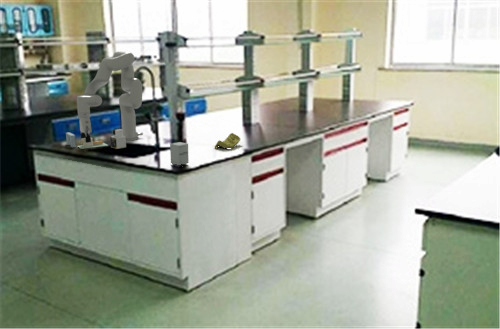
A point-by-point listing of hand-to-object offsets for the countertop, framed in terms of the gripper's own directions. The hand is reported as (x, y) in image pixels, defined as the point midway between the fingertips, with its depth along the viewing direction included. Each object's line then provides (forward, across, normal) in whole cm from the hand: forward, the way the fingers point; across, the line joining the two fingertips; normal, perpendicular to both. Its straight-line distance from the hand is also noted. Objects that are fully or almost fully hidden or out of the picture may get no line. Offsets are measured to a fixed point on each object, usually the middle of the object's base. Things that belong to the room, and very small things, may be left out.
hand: (86, 141), depth 352 cm
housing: (+4, +9, +7) cm, 12 cm away
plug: (+3, 0, -4) cm, 5 cm away
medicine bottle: (+4, -13, -17) cm, 22 cm away
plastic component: (+4, -50, -78) cm, 93 cm away
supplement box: (+4, -78, -29) cm, 83 cm away
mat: (+4, 0, -4) cm, 6 cm away
